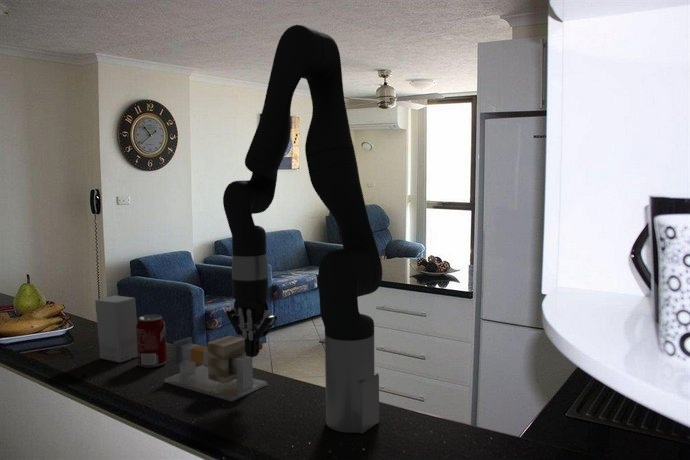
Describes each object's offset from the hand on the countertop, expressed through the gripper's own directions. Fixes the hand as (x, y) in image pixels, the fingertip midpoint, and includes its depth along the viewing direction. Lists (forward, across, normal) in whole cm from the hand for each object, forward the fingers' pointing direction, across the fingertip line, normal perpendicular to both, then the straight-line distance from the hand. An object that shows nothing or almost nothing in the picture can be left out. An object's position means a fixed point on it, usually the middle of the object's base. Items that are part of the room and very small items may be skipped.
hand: (252, 355), depth 127 cm
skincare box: (+9, +46, 0) cm, 47 cm away
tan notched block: (+6, +7, 0) cm, 9 cm away
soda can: (+9, +34, -1) cm, 35 cm away
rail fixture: (+8, +11, 0) cm, 14 cm away
